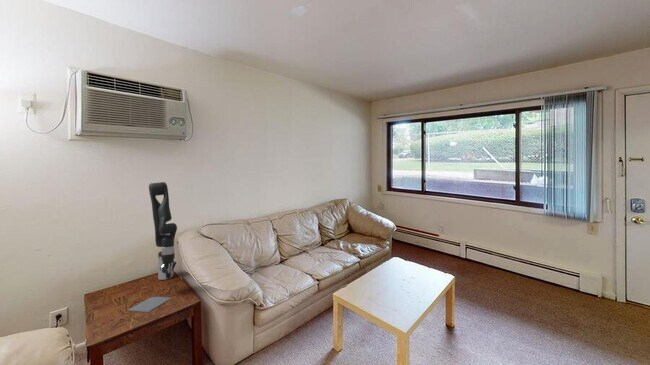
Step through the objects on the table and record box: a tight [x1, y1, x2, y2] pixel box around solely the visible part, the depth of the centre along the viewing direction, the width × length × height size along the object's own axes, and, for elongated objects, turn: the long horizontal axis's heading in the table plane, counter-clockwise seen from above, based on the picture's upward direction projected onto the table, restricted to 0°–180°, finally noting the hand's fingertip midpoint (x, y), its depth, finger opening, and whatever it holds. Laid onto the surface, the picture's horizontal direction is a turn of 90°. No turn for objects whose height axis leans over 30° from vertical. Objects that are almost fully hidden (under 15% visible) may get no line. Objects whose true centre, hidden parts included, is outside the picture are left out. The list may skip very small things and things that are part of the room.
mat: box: [127, 296, 172, 314], centre depth 157 cm, size 18×14×1 cm
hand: (168, 278), depth 172 cm, fingers closed
